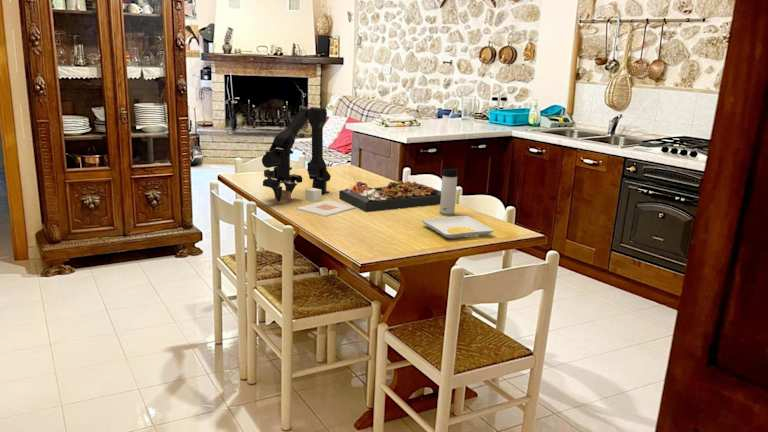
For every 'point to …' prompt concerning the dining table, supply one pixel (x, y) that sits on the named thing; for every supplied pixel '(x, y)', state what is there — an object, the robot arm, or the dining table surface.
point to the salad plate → (457, 221)
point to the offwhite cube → (313, 194)
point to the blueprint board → (326, 208)
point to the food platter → (390, 196)
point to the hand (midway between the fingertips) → (282, 200)
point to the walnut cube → (284, 197)
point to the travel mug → (448, 191)
